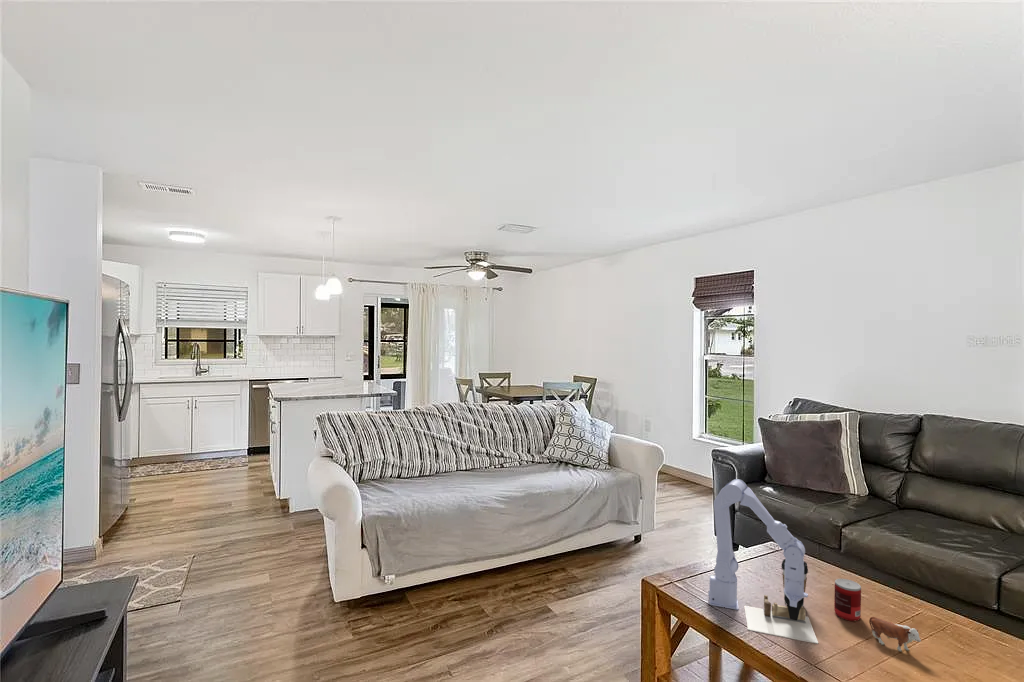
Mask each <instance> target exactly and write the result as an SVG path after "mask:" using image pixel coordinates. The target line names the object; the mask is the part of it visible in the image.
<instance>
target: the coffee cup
mask: <svg viewBox="0 0 1024 682" xmlns="http://www.w3.org/2000/svg"><path fill="white" fill-rule="evenodd" d="M780 567H781V569H782V581H783V582H782V585H783V587H784V578H785V559H782V561H781V566H780ZM808 568H809V567H808V562H806V561H804V593H806V589H807V580H808V578H807V574H808V573H809V569H808ZM784 595H785V593H784V592H783V596H784ZM803 598H804V599H805V597H803ZM784 603H785V604H786V602H785V601H784ZM804 604H805V601H804V602H803V605H802V606H803V607H804Z"/></svg>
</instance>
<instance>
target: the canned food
mask: <svg viewBox="0 0 1024 682" xmlns="http://www.w3.org/2000/svg"><path fill="white" fill-rule="evenodd" d="M833 606H834V608H833V611H834V613H835V615H836V616H837V617H839V618H840V619H843V620H845V621H849V622H856V621H857V622H858V621H859V620H860V619H861V615H862V614H861V611H862V586H861V585H860V584H859V583H858V582H856V581H854V580H852V579H848V578H837V579H835V580H834V605H833Z"/></svg>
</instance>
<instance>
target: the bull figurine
mask: <svg viewBox="0 0 1024 682" xmlns="http://www.w3.org/2000/svg"><path fill="white" fill-rule="evenodd" d="M868 621H869V626H870V628H871V632H872V636H873V638H875V639H876V640H878V644H880V645H881V646H885V645H886V644H885V642H884V641H883V640H882V638H881V636H882V635H881V634H884V635H885V637H886V638H887V639H889V640H890V639H894V640H897V645H898V646H897V647H896V649H897V650H898V652H903V650H902V648H901V647H902V646H903V649H904V650H905V651H906V652H909V651H910V649H909V648H908V646H907V644H910V643H912V642H913V641H914V642H917V643H918V642H919V643H920V642H921V643H922V639H921V638H920V633H919V629H916V628H911V627H910V626H908V625H901V624H897V623H894V622H893V623H892V622H890V621H887V620H884V619H882V618H880V617H876V616H871V617H869V620H868Z"/></svg>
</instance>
